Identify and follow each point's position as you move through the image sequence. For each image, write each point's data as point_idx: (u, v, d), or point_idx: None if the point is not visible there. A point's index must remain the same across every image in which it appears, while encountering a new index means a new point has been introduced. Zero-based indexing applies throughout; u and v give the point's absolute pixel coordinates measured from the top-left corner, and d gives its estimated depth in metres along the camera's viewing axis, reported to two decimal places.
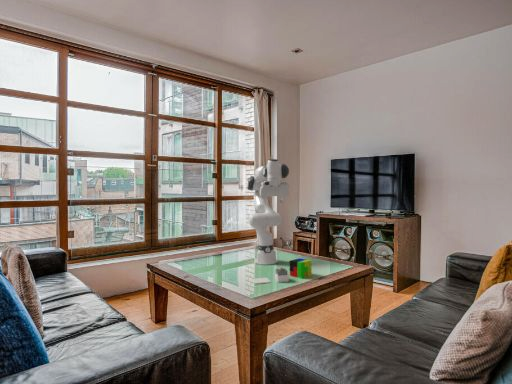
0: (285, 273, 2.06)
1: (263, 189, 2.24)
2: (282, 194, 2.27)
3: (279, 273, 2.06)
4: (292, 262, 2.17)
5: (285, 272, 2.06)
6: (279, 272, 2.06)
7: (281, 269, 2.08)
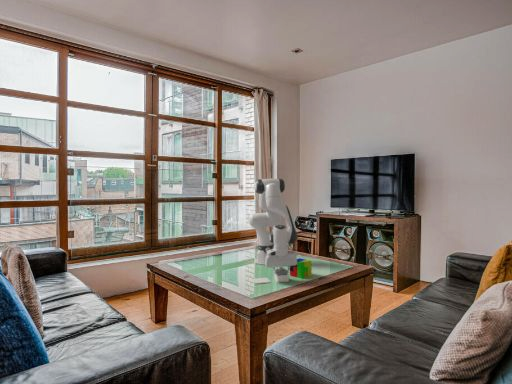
0: (285, 273, 2.06)
1: (269, 259, 2.05)
2: (290, 264, 2.08)
3: (279, 273, 2.06)
4: None
5: (285, 272, 2.06)
6: (279, 272, 2.06)
7: (281, 269, 2.08)
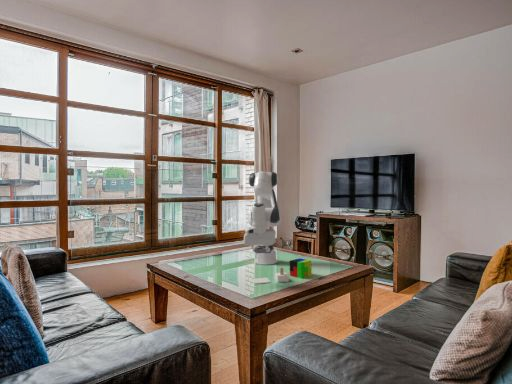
0: (263, 251, 2.06)
1: (247, 237, 2.04)
2: (268, 242, 2.07)
3: (257, 251, 2.05)
4: (292, 262, 2.17)
5: (263, 250, 2.06)
6: (257, 250, 2.05)
7: (281, 269, 2.08)
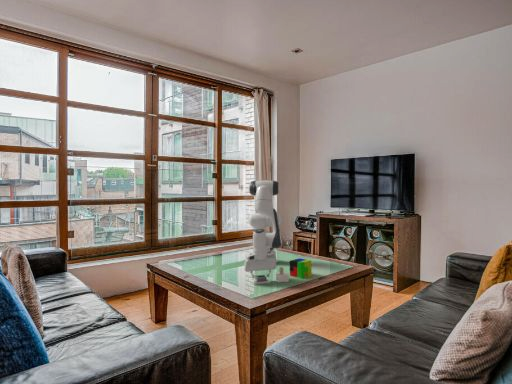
0: (264, 279, 2.06)
1: (248, 264, 2.05)
2: (269, 268, 2.08)
3: (258, 279, 2.05)
4: (292, 262, 2.17)
5: (264, 278, 2.06)
6: (258, 278, 2.05)
7: (281, 269, 2.08)
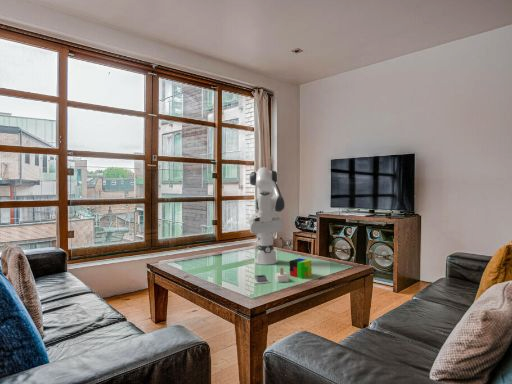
0: (264, 279, 2.06)
1: (253, 226, 2.06)
2: (274, 230, 2.09)
3: (258, 279, 2.05)
4: (292, 262, 2.17)
5: (264, 278, 2.06)
6: (258, 278, 2.05)
7: (281, 269, 2.08)
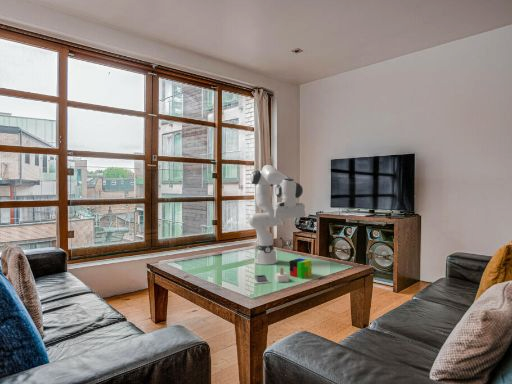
0: (264, 279, 2.06)
1: (278, 210, 2.11)
2: (298, 215, 2.14)
3: (258, 279, 2.05)
4: (292, 262, 2.17)
5: (264, 278, 2.06)
6: (258, 278, 2.05)
7: (281, 269, 2.08)
